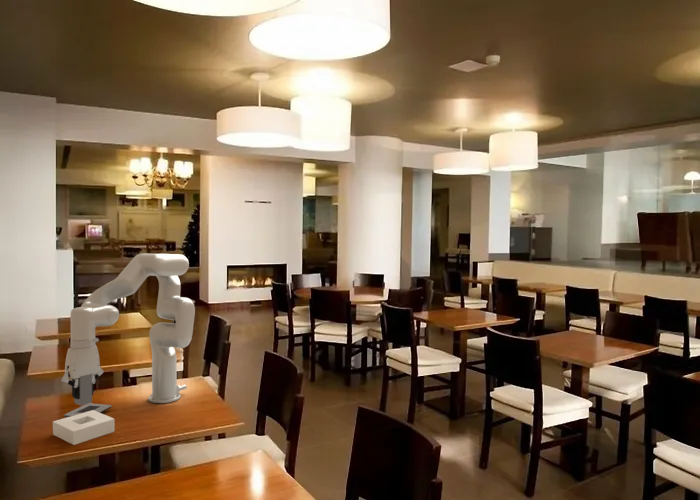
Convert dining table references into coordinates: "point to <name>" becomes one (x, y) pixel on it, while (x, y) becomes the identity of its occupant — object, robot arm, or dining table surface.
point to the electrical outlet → (88, 409)
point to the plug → (84, 390)
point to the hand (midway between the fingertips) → (83, 396)
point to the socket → (83, 427)
